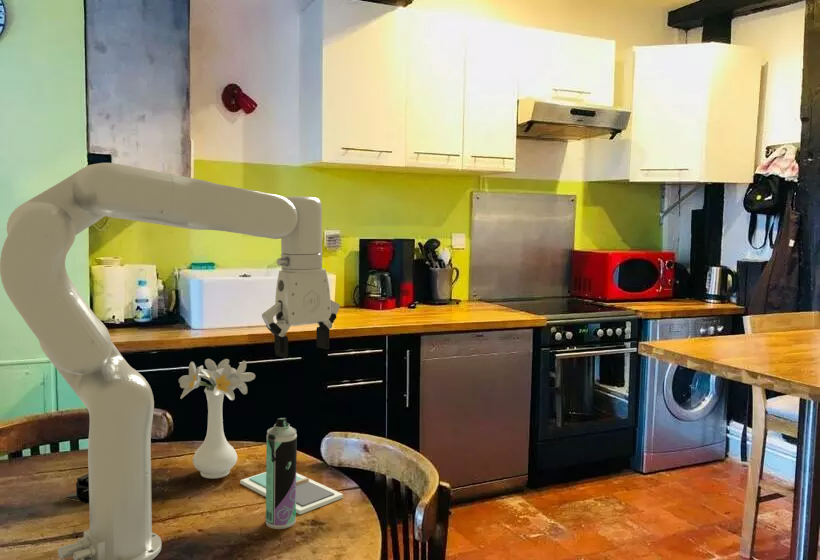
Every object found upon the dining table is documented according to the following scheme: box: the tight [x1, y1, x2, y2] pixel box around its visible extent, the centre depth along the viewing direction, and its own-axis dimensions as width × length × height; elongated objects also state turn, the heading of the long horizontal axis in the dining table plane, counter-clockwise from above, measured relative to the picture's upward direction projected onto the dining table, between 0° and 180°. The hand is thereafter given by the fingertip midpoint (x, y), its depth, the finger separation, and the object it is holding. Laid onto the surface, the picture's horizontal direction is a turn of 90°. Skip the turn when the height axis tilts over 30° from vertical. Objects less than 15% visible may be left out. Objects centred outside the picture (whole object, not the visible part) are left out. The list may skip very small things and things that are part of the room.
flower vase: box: [178, 358, 256, 480], centre depth 149 cm, size 13×18×25 cm
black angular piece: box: [66, 472, 89, 504], centre depth 137 cm, size 12×7×5 cm, turn 70°
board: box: [240, 471, 344, 515], centre depth 142 cm, size 11×20×2 cm, turn 47°
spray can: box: [265, 416, 298, 530], centre depth 127 cm, size 6×6×20 cm
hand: (302, 352), depth 131 cm, fingers open, 9 cm apart
